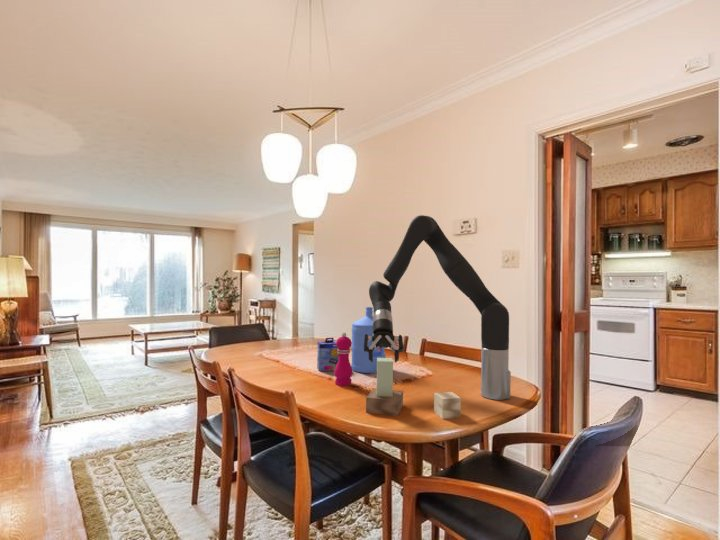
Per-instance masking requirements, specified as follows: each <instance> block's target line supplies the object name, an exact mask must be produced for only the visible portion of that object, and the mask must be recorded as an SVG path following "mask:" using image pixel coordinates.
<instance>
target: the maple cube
mask: <svg viewBox="0 0 720 540" xmlns="http://www.w3.org/2000/svg"><path fill="white" fill-rule="evenodd" d="M461 403H462V398H461V397H460V396H458V395H457V394H455V393H454V392H452V391H443V392H434V393H433V412H434V413H435V414H436V415H437V416H438V417H440V418H441V419H442V420H446V419H458V418H461V417H462V416H461V412H462V411H461V409H462V408H461V407H462V404H461Z"/></svg>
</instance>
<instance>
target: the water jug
mask: <svg viewBox="0 0 720 540" xmlns="http://www.w3.org/2000/svg"><path fill="white" fill-rule="evenodd" d="M373 315H374V310H373V306H372V307H371V306H366V307H365V316H363V317H362V318H360V319H357V320H356V321H354V322H352V324H351V342H352V344H351V347H350V351H351V363H350V365H351V367H352V370H353V371H354V372H356V373H359V372H361V373H360V374H377V373H376V372H377V358H387V357H386V355H387V354H386V353H385V348H384V347H383V348H380V349H379V347H377V348H376V349H375V350H374V351H373V362H371V360H369V353H368V352H367V351H366V352H365V351H364V339H365V334H367V335H368V336H372V335H373ZM372 343H373V341H372V340H370V342H368V345H367V346H368V347H370V346H371V345H372Z"/></svg>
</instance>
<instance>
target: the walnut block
mask: <svg viewBox="0 0 720 540" xmlns="http://www.w3.org/2000/svg"><path fill="white" fill-rule="evenodd" d="M403 405H404V390H395V389H393V397H392V396H377V387H376V388H375V387H374V388H372V390H371V391H370V392H369V393H368V394H367V396H366V397H365V413H366V414H367V413H368V414H377V415H385V416H394V417H398V416H399V415H400V412H401V410H402V409H403Z"/></svg>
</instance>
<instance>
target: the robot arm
mask: <svg viewBox="0 0 720 540" xmlns="http://www.w3.org/2000/svg"><path fill="white" fill-rule="evenodd" d="M423 241H424V243H426V244H427V246H429V247H430V249H431V250H432V252H433V253H434V255H435V256H436V259H437V260H438V263H439V265H440V267H441V270H442V271H443V272H444V274H445V275H446V277H448V279H449V280H450V282H452V284H453V285H454V286H455V287H456V288H457V289H458V290H459V291H460V292H461V293H463V294H464V295H465V296H466V297H467V298H468V299H469V300H470V301H471V302H472V304H473V305H474V306H475V308H476V310H477V311H478V312H479V313H480V315H481V317H480V319H481V320H480V321H481V322H480V327H481V328H480V331H481V332H480V336H481V337H480V341H481V354H480V355H481V360H480V361H481V362H480V363H481V365H480V366H481V367H480V368H481V369H480V371H481V372H480V373H481V374H480V375H481V376H480V396H482V397H483V398H486V399H490V400H494V401H495V400H496V401H498V400H499V401H501V400H507V399H509V400H510V399H511V383H512V382H511V381H512V380H511V379H512V378H511V377H512V376H511V373H512V372H511V371H510V370H509V368H510V367H509V364H510V363H509V359H510V358H509V357H510V356H509V355H510V353H509V351H510V314H509V313H510V312H509V310H508V308H507V307H506V306H505V305H504V304H503V303H501V301H499V300H498V298H496V296H494V294H493V293H492V292H490V290H489V289H488V288H487V286H486V285H485V283H484V282H483V280H482V279H481V277H480V276H479V275H478V273H477V271H476V270H475V269H474V267H473V266H472V265H471V264H470V263H469V261H468V260H467V259H466V257H464V255H463V254H462V253H461V252H460V251H459V250H458V248H456V247H455V245H454V244H452V243H451V241H450V240H449V239H448V237H447V236H446V234H445V233H444V231H443V230H442V228H441V227H440V226H439V224H438V222H437V221H436V219H434V218H433V217H431V216H430V215H424V214H422V215H421V214H420V215H417V216H415V217H414V218H412V219H411V222H410V223H409V226H408V228H407V229H406V232H405V234H404V237H403V240H402V242H401V243H400V246H399V248H398V249H397V251H396V252H395V255H394V256H393V258H392V259H391V261H390V262H389V263H388V265H387V267H386V268H385V270H384V272H383V278H384V279H385V280H386V281H387V282H388V283H389V284H388V285H387V284H385V283H383V282H382V281H378V280H376V281H373V282H372V283H371V284H369V285H370V286H369V289H368V295H369V298H370V301H371V304H372V307H373V309H372V311H373V314H372V315H373V335H372V336H368V335H367V334H365V339H364V351H365V352H366V351H367V352H368V353H369V360H371V362H373V351H374V350H375V349H376V348H377V347H378V349H379V348H383V347H384V349H387V348H389V349H390V350H391V351H393V352H394V353H393V356H394V363H398V361H399V359H400V353H403V352H404V341H403V335H401V334H399V335H398V336H397V335H396V336H395V335H394V327H393V326H394V324H393V315H392V304H391V302H392V301H393V299H394V297H395V295H396V291H397V288H398V284H399V282H400V280H401V279H402V277H403V276H404V275H405V273H406V271H407V270H408V267H409V266H410V263H411V260H412V257H413V255H414V254H415V252H416V250H417V248H419V246H420V245H421V244H422V242H423ZM370 340H372V341H373V343H372V345H371V346H370V347H368V346H367V345H368V342H370ZM395 341H396V343H398V346H397V345H396V343H395Z"/></svg>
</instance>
